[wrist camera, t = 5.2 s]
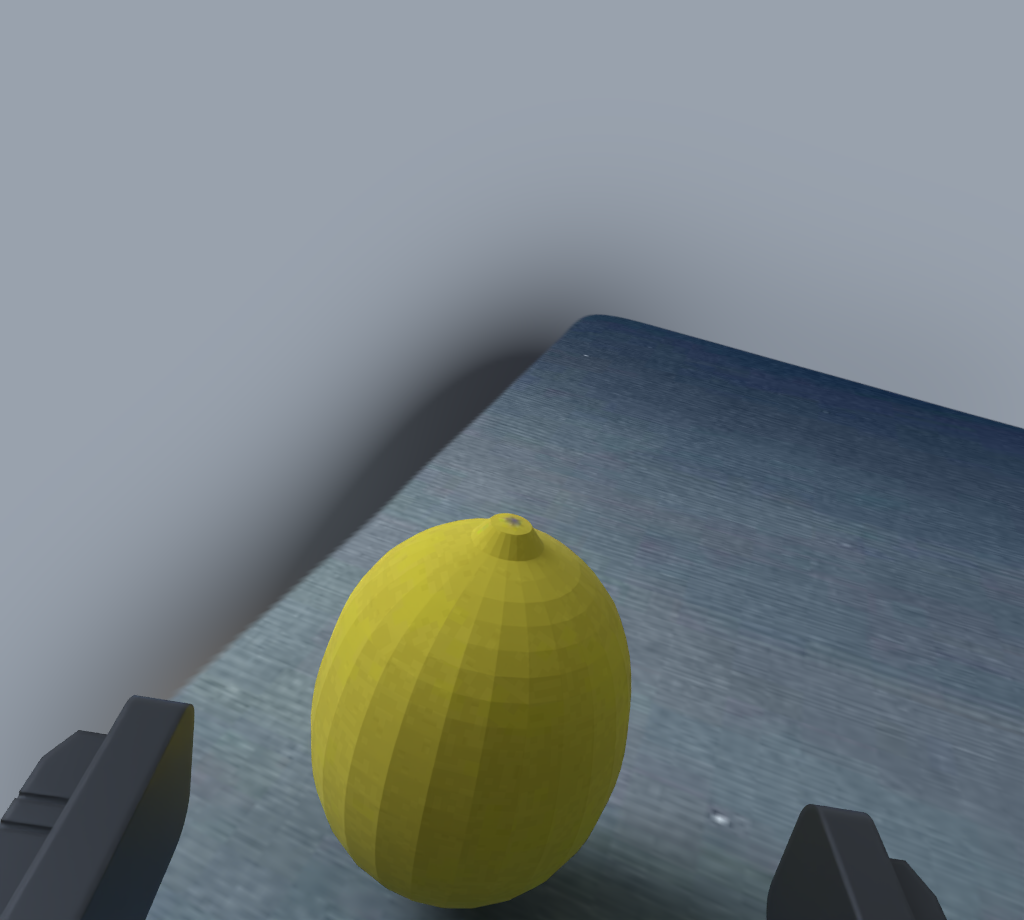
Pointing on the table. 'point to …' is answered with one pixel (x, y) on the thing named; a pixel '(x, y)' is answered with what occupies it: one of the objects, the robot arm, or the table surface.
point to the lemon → (471, 712)
